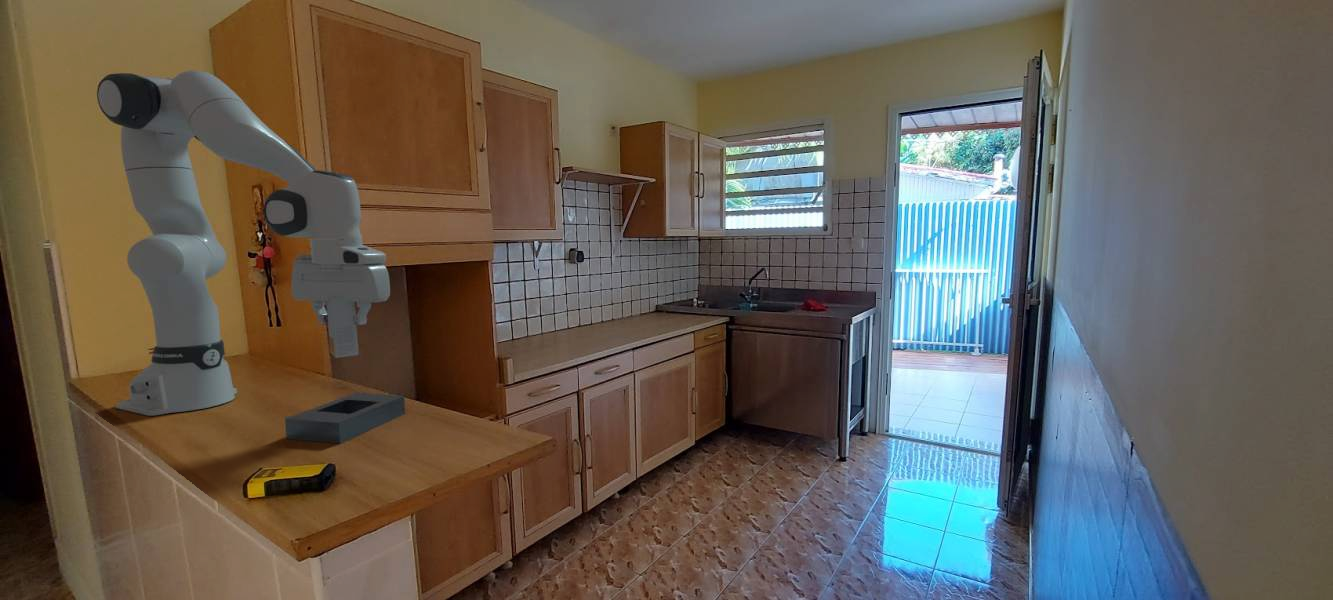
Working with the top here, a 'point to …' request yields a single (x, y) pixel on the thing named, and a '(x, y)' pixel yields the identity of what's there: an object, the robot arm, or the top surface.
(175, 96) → the robot arm
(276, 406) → the top surface
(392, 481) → the top surface
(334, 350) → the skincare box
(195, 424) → the top surface
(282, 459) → the top surface
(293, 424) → the grey slotted block
